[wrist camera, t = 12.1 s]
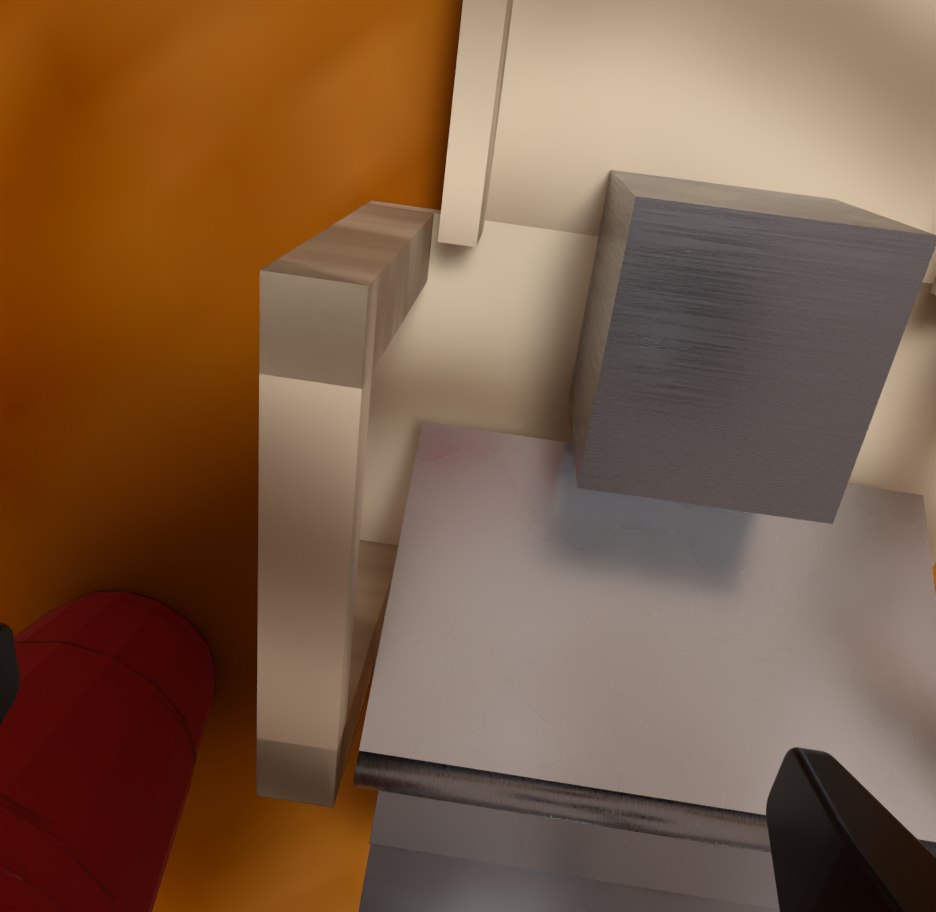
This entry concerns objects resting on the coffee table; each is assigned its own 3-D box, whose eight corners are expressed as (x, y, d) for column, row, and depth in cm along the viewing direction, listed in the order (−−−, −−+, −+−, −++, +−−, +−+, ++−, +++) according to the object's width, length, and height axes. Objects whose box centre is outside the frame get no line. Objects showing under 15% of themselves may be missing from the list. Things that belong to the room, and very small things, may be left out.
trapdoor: (839, 1091, 18) (1010, 1203, 13) (334, 1007, 18) (294, 1081, 13) (812, 569, 24) (923, 495, 18) (424, 510, 24) (422, 421, 19)
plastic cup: (-62, 699, 27) (-464, 1104, 16) (15, 462, 23) (-467, 799, 12) (221, 826, 29) (26, 1273, 18) (345, 626, 24) (186, 1059, 13)
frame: (878, 653, 23) (1041, 921, 15) (347, 572, 23) (256, 795, 16) (1278, -238, 14) (2106, -609, 7) (407, -345, 14) (267, -810, 7)
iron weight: (765, 425, 20) (834, 199, 17) (832, 523, 15) (939, 236, 13) (568, 397, 20) (610, 169, 17) (577, 487, 15) (635, 196, 13)
